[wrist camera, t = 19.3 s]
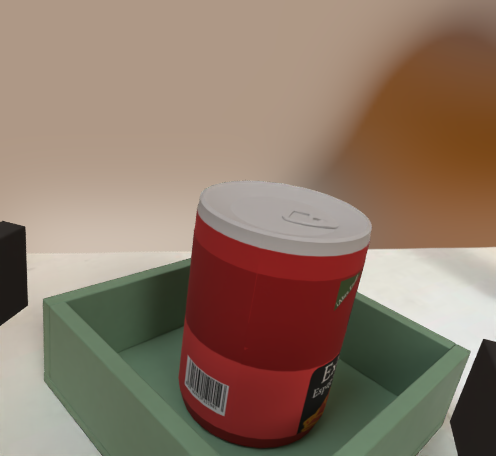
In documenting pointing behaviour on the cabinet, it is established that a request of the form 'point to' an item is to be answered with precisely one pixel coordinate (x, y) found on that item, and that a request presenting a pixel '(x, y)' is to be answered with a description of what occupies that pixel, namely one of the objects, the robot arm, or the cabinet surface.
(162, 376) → the tote
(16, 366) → the cabinet surface
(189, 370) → the canned food
